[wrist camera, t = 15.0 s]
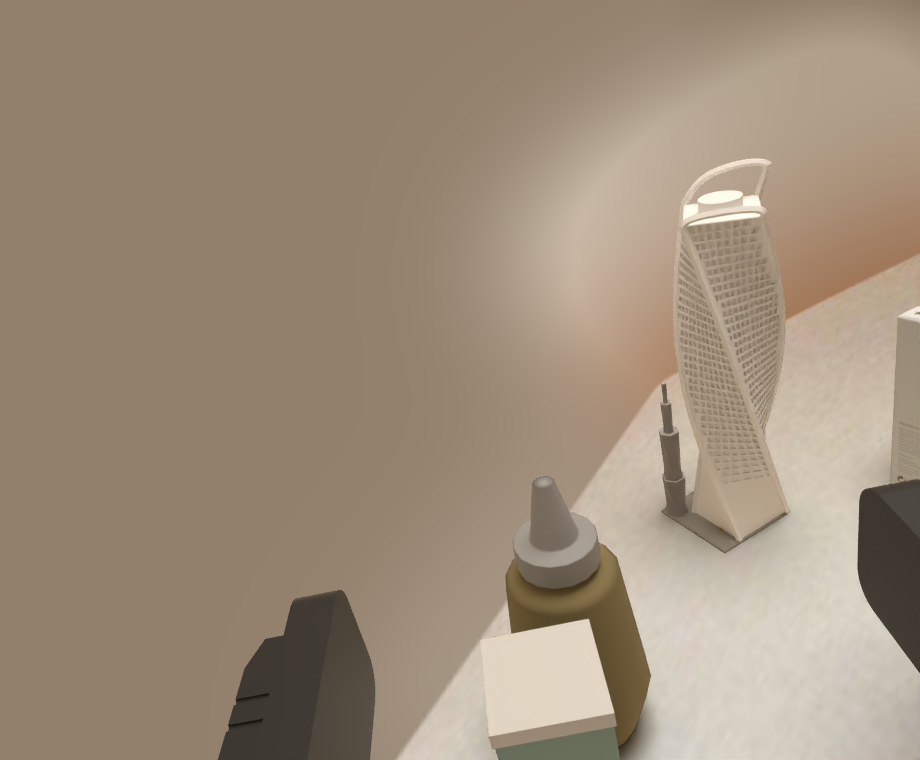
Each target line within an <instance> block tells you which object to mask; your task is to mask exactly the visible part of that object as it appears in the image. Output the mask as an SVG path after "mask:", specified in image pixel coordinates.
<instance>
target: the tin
mask: <svg viewBox="0 0 920 760" xmlns="http://www.w3.org/2000/svg"><path fill="white" fill-rule="evenodd" d="M480 643H481V654H482V665H483V677H484V688H485V699H486V711H487V722H488V734H489V739H490V742H491V746H492V749H496V753H497V756H498V759H499V760H620V755H619V749H618V744H617V738H616V733H615V728H614V727H615V726H617V724H616V719H615V713H614V709H613V706H612V702H611V699H610V695H609V691H608V688H607V684H606V680H605V677H604V673H603V669H602V666H601V662H600V658H599V655H598V651H597V647H596V644H595V640H594V636H593V633H592V629H591V625H590V622H589V619H584V620H579V621H574V622H569V623H564V624H559V625H554V626H549V627H544V628H539V629H533V630H528V631H523V632H518V633H513V634H508V635H503V636H498V637H493V638H488V639H482V640H480Z"/></svg>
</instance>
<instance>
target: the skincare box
mask: <svg viewBox="0 0 920 760" xmlns="http://www.w3.org/2000/svg"><path fill="white" fill-rule="evenodd" d="M897 320H898V322H897V347H896V368H895V391H894V411H893V432H892V453H891V477H890V481H891V483H899V482H904V481H909V480H914V479H919V480H920V306H918V307H916V308H914V309H911V310H909V311H907V312H905V313H904V314H901V315H899V316H898V318H897Z"/></svg>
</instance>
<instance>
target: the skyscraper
mask: <svg viewBox="0 0 920 760" xmlns="http://www.w3.org/2000/svg"><path fill="white" fill-rule="evenodd" d="M747 166H763V169H762V172H761V175H760V178H759V181H758V185H757V188H756V191H755V194H754V195H751V196H744V197H743V194H742V193H741V192H739V191H719V192H713V193H709V194H706V195H703V196H701V197H700V198H699V199H698V203H692V204H689V202H690V199H691V198H692V197H693V195H694V193H695V192H696V191H697V189H698V188H699V187H700V186H701V185H702V184H703V183H704V182H705V181H707V180H708V179H710V178H712V177H714V176H716V175H718V174H720V173H723V172H725V171H729V170H733V169H736V168H741V167H747ZM771 166H772V163H771V162H770V161H768V160H766V159H746V160H740V161H736V162H732V163H728V164H725V165H722V166H719V167H717V168H715V169H712V170H710V171H709V172H707V173H705V174H704V175H702V176H701V177H700V178H698V179H697V180H696V181H695V182H694V183H693V185H692V186H691V187H690V189H689V190H688V192H687V193H686V195H685V197H684V198H683V200H682V202H681V205H680V215H679V224H678V234H677V245H676V257H675V270H674V287H673V328H674V340H675V352H676V359H677V365H678V372H679V377H680V382H681V388H682V392H683V396H684V400H685V404H686V408H687V412H688V416H689V419H690V423H691V426H692V429H693V433H694V436H695V439H696V442H697V445H698V447H699V450H700V452H699V459H698V466H697V473H696V481H695V489H694V492H692V493H690V494H689V495H687V496H685V477H684V474H683V472H682V471H681V465H680V448H679V432H678V430H677V428H676V427H673V425H672V410H671V402H670V400H667V390H666V382H662V383H661V386H662V393H663V401H662V402H660V403H661V411H662V418H663V425H664V428H662V429H660V430H659V434H660V441H661V448H662V455H663V462H664V474H662V476H663V482H664V488H665V494H666V501H667V507H666V508H665V509H663V510H661V512H663V513H664V514H666V515H667V516H669V517H670V518H672V519H673V520H675V521H676V522H678V523H679V524H681V525H682V526H684V527H686V528H687V529H689V530H690V531H692V532H693V533H695V534H696V535H698V536H699V537H701V538H702V539H704V540H706V541H707V542H709V543H710V544H712V545H713V546H715V547H716V548H718V549H719V550H721V551H722V552H724V553H726V552H728V551H730V550H731V549H733V548H734V547H736V546H737V545H739V544H741V543H742V542H744V541H745V540H747V539H748V538H750V537H752V536H753V535H755V534H756V533H758V532H760V531H761V530H763V529H764V528H766V527H767V526H769V525H771V524H772V523H774V522H775V521H777V520H778V519H780V518H782V517H783V516H785V515H786V514H788V513H789V508H788V505H787V502H786V499H785V496H784V493H783V490H782V487H781V484H780V481H779V478H778V476H777V473H776V470H775V467H774V464H773V461H772V458H771V455H770V452H769V449H768V446H767V443H766V441H765V427H766V424H767V421H768V418H769V415H770V412H771V409H772V405H773V402H774V399H775V395H776V391H777V387H778V383H779V378H780V373H781V368H782V362H783V354H784V346H785V304H784V294H783V287H782V280H781V275H780V269H779V264H778V259H777V254H776V250H775V246H774V242H773V238H772V233H771V229H770V225H769V220H768V213H767V210H766V209H765V208H763V207H761V205H760V200H761V197H762V193H763V190H764V187H765V184H766V181H767V178H768V175H769V172H770V169H771Z"/></svg>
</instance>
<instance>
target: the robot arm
mask: <svg viewBox="0 0 920 760" xmlns="http://www.w3.org/2000/svg"><path fill="white" fill-rule="evenodd" d="M857 565H858V575H859V580H860V584H861V587H862V590H863V592H864V595H865V597H866V599H867V601H868V603H869V605H870V606H871V608H872V609H873V611H874V612H875V614H876V615H877V616H878V618H879V619H880V620H881V622H882V623H883V624H884V626H885V627H886V628H887V630H888V631H889V632H890V634H891V635H892V636H893V638H894V639H895V640H896V642H897V643H898V644H899V646H900V647H901V648H902V650H903V651H904V652H905V654H906V655H907V656H908V658H909V659H910V660H911V662H912V663H913V664H914V666H915V667H916V668H917V670H918V671H919V672H920V480H919V479H914V480H909V481H904V482H899V483H893V484H888V485H883V486H878V487H873V488H868V489H865V490H863V491H862V493H861V495H860V501H859V531H858V564H857ZM374 706H375V681H374V673H373V668H372V663H371V660H370V656H369V654H368V651H367V648H366V646H365V643H364V641H363V638H362V635H361V633H360V630H359V628H358V625H357V622H356V620H355V617H354V614H353V612H352V609H351V607H350V604H349V602H348V599H347V597H346V595H345V593H344V592H343V591H342V590H337V591H332V592H327V593H322V594H317V595H312V596H307V597H302V598H297V599H295V600H294V601H293V602H292V605H291V607H290V612H289V615H288V620H287V624H286V628H285V632H284V636H278V637H273V638H268V639H265V640H264V642H263V643H262V645H261V646H260V647H259V649H258V650H257V652H256V653H255V654H254V656H253V657H252V659H251V660H250V662H249V663H248V665H247V666H246V667H245V669H244V673H243V676H242V679H241V683H240V686H239V690H238V693H237V696H236V705H234V707H233V710H232V714H231V717H230V720H229V724H228V726H229V731H228V732H226V734H225V737H224V741H223V744H222V748H221V751H220V755H219V758H218V760H370V751H371V741H372V729H373V718H374Z"/></svg>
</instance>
